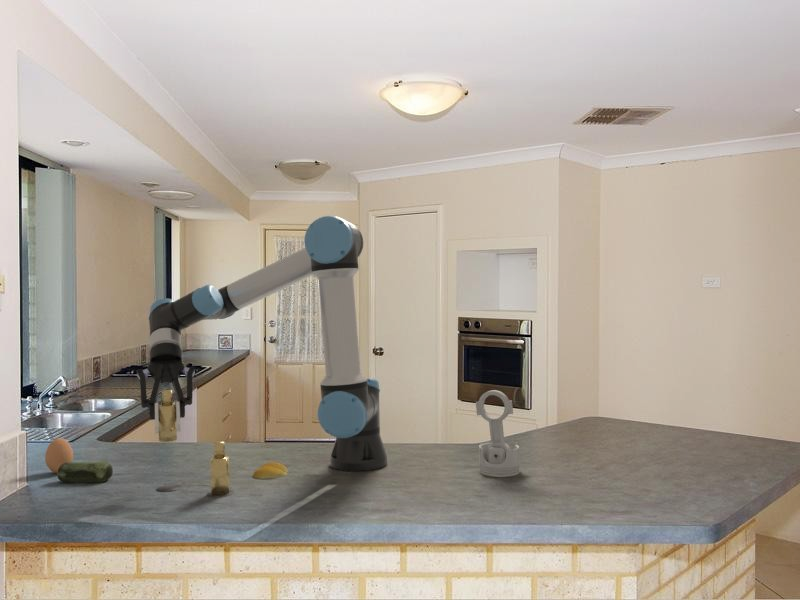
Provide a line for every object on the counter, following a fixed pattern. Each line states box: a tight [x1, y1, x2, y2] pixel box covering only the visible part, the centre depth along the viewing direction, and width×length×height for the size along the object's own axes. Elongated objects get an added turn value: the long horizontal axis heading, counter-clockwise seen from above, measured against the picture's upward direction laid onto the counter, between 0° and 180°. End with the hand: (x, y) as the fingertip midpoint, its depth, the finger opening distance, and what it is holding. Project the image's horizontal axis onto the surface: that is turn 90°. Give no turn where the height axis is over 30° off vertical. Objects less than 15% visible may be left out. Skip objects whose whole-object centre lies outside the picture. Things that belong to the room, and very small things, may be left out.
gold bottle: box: [209, 440, 231, 496], centre depth 154 cm, size 4×4×12 cm
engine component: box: [475, 389, 520, 478], centre depth 173 cm, size 11×20×10 cm
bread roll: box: [252, 461, 289, 480], centre depth 170 cm, size 8×9×4 cm
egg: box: [44, 437, 74, 474], centre depth 181 cm, size 7×7×9 cm
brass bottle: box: [158, 389, 178, 443], centre depth 159 cm, size 4×4×12 cm
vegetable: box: [56, 460, 114, 484], centre depth 172 cm, size 14×5×5 cm, turn 89°
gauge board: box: [155, 482, 235, 498], centre depth 156 cm, size 24×12×1 cm, turn 69°
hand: (167, 428), depth 155 cm, fingers closed on brass bottle, 4 cm apart
